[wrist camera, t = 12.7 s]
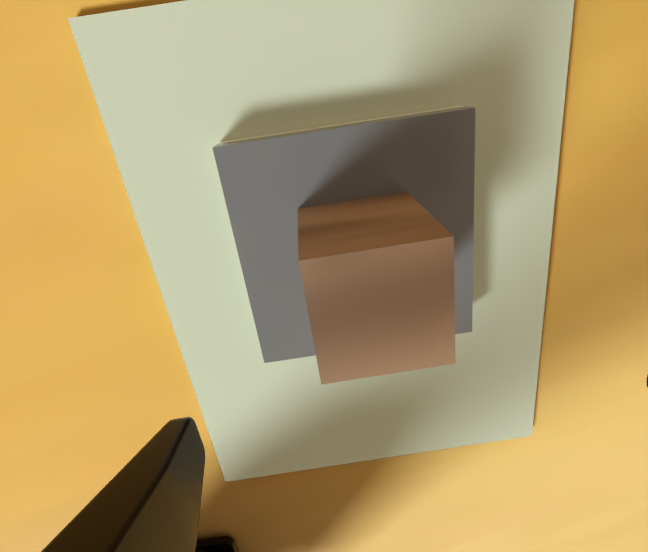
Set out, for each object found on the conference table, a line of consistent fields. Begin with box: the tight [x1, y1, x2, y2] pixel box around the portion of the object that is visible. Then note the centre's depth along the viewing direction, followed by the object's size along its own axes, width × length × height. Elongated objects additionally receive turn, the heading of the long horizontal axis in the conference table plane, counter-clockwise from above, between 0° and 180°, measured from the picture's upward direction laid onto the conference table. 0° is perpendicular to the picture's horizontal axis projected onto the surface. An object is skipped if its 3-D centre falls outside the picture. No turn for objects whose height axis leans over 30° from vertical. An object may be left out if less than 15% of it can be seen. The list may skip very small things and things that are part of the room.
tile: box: [212, 106, 475, 363], centre depth 17 cm, size 9×2×9 cm
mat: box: [68, 0, 574, 482], centre depth 18 cm, size 22×17×1 cm
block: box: [298, 191, 456, 385], centre depth 14 cm, size 4×4×5 cm
